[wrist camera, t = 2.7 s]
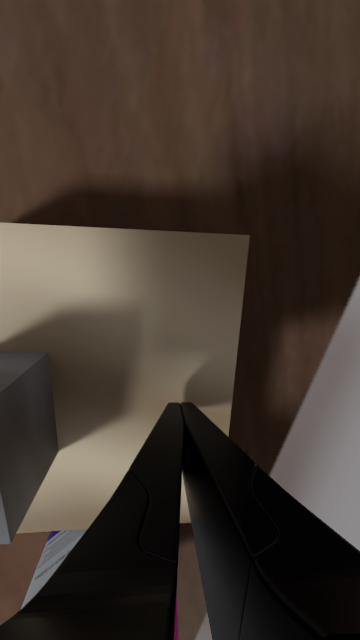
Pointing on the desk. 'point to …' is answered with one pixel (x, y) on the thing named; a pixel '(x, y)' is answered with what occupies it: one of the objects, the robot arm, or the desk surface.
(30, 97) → the desk surface
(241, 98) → the desk surface
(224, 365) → the lid
